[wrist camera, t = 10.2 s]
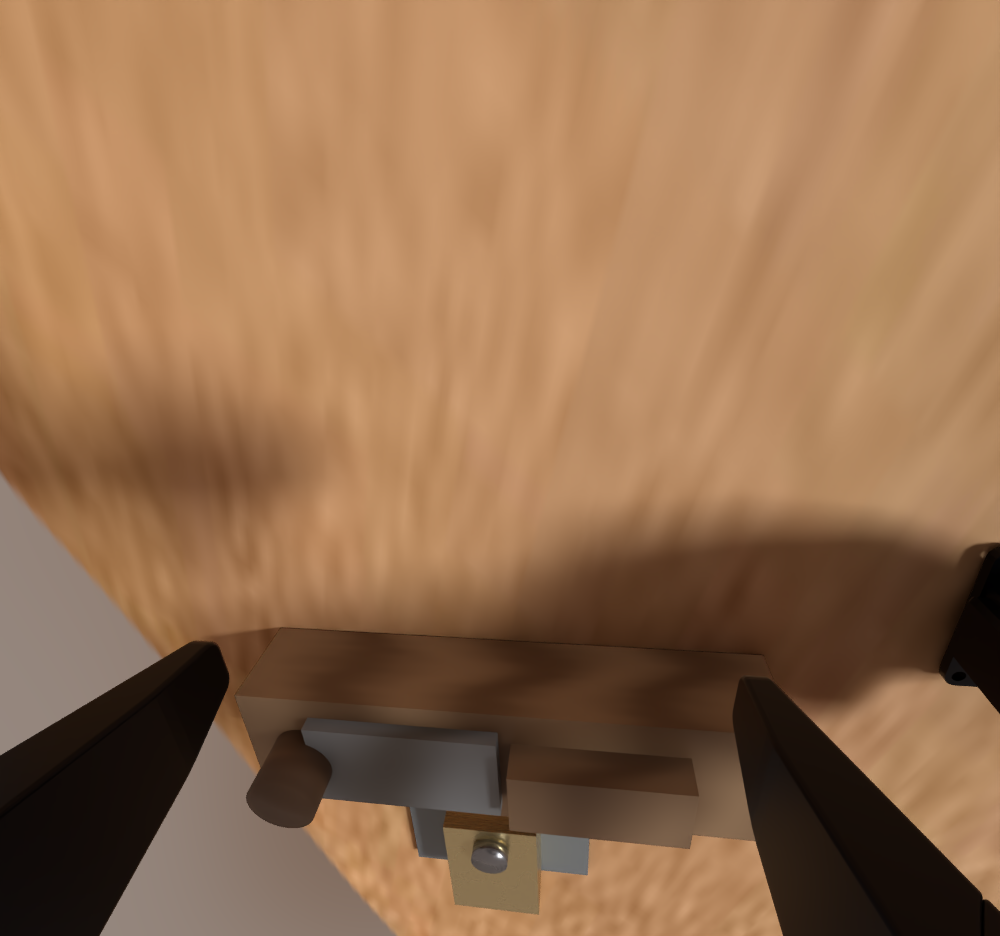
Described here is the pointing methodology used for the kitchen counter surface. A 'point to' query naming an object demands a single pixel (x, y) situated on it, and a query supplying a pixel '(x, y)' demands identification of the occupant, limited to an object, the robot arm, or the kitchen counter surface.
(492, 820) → the lever cap
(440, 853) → the mat
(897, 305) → the kitchen counter surface
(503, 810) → the plane body
